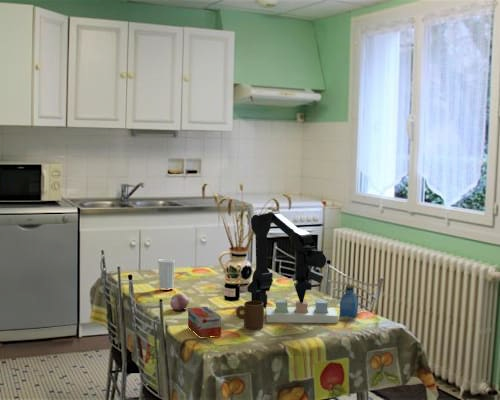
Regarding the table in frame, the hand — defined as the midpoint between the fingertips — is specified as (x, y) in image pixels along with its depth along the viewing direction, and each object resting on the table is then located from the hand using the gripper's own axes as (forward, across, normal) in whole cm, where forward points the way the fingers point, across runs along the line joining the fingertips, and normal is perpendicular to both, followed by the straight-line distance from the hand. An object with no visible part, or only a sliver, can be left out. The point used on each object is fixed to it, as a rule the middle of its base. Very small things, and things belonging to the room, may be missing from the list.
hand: (301, 302), depth 265 cm
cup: (+7, +45, +60) cm, 75 cm away
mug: (+7, -14, +21) cm, 26 cm away
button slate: (+4, 0, -8) cm, 9 cm away
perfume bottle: (+7, +6, -20) cm, 22 cm away
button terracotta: (+4, 0, 0) cm, 4 cm away
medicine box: (+7, -20, +38) cm, 43 cm away
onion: (+7, +10, +50) cm, 51 cm away
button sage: (+4, 0, +8) cm, 9 cm away
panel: (+7, 0, 0) cm, 7 cm away
